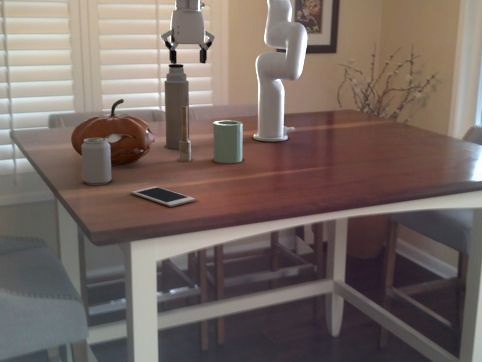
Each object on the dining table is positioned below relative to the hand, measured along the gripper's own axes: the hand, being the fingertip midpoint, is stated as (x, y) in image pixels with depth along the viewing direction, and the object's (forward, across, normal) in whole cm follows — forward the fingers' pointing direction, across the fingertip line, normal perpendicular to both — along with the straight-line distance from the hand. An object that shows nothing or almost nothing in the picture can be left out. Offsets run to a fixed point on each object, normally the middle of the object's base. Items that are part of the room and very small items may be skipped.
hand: (188, 63), depth 207 cm
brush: (+30, +2, +3) cm, 30 cm away
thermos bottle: (+30, -3, -17) cm, 35 cm away
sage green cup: (+30, -10, +8) cm, 33 cm away
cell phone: (+30, +24, +39) cm, 55 cm away
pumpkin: (+30, +22, -5) cm, 38 cm away
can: (+31, +34, +17) cm, 49 cm away
